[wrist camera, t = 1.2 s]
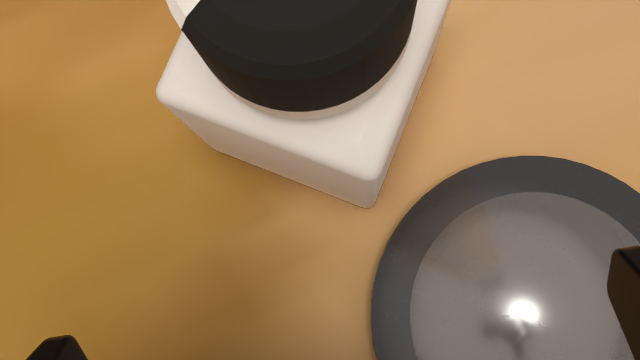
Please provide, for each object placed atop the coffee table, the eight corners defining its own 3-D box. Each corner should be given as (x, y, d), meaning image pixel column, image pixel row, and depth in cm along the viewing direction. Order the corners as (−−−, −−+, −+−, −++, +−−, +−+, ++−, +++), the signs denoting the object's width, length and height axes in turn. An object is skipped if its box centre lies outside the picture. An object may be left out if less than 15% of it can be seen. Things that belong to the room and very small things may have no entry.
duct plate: (746, 249, 23) (767, 247, 21) (616, 552, 21) (631, 568, 20) (454, 110, 24) (459, 101, 23) (316, 384, 23) (313, 389, 22)
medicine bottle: (434, 51, 25) (503, -160, 13) (371, 212, 24) (382, 145, 12) (275, -5, 25) (202, -251, 14) (208, 148, 25) (68, 26, 13)
